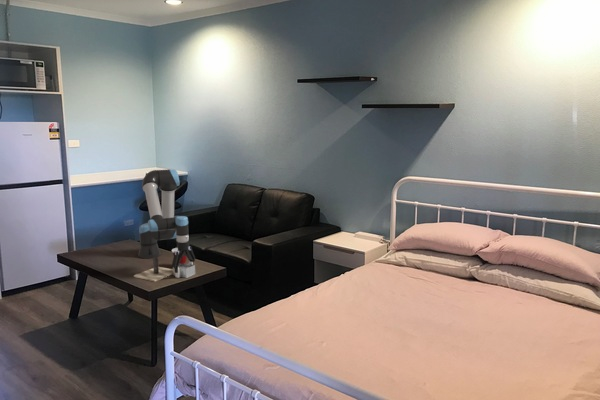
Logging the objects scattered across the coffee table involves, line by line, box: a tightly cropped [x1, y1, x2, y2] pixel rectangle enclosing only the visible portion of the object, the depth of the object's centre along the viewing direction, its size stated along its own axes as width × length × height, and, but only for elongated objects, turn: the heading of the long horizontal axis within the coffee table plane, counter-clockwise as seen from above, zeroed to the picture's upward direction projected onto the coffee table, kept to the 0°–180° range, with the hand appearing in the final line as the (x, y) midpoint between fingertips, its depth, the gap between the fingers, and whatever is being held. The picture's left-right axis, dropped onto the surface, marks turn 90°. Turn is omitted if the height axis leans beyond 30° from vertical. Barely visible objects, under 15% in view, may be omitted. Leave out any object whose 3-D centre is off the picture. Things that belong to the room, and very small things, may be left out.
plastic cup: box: [171, 247, 188, 264], centre depth 313 cm, size 11×11×12 cm
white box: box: [172, 262, 196, 279], centre depth 298 cm, size 8×11×6 cm
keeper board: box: [133, 256, 173, 282], centre depth 298 cm, size 20×18×12 cm
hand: (184, 274), depth 298 cm, fingers open, 12 cm apart
